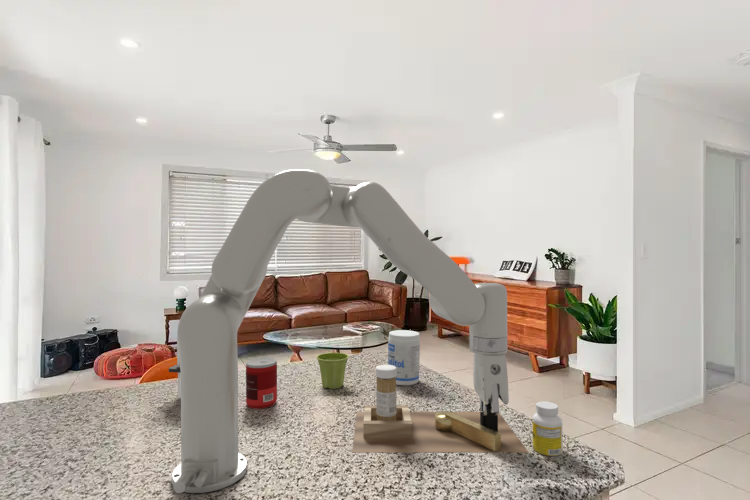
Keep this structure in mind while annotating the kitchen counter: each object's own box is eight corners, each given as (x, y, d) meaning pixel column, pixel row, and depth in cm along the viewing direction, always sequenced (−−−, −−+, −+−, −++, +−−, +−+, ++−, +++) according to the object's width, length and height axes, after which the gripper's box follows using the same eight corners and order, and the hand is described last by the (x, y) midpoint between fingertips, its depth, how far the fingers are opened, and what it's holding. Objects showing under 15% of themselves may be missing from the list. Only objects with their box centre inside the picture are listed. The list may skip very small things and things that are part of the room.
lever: (489, 453, 80) (489, 438, 80) (430, 425, 93) (430, 411, 93) (505, 446, 83) (505, 431, 83) (445, 419, 96) (445, 406, 96)
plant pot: (312, 383, 126) (312, 354, 126) (342, 379, 130) (342, 350, 130) (322, 393, 117) (322, 362, 117) (353, 388, 121) (353, 358, 121)
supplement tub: (382, 383, 125) (382, 334, 125) (395, 374, 134) (395, 328, 134) (412, 388, 121) (412, 337, 121) (424, 379, 129) (424, 331, 129)
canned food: (281, 398, 113) (280, 357, 113) (270, 410, 105) (270, 366, 105) (253, 397, 114) (253, 356, 114) (241, 408, 106) (240, 365, 106)
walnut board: (528, 457, 81) (528, 451, 81) (352, 457, 81) (352, 451, 81) (498, 415, 101) (498, 411, 101) (356, 415, 101) (356, 411, 101)
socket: (411, 438, 87) (411, 423, 87) (363, 438, 87) (363, 423, 87) (408, 418, 97) (408, 405, 97) (364, 418, 97) (364, 405, 97)
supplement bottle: (537, 445, 86) (537, 397, 86) (565, 454, 83) (566, 404, 83) (528, 455, 82) (528, 405, 82) (557, 465, 79) (557, 412, 79)
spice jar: (389, 422, 95) (389, 362, 95) (400, 430, 91) (400, 367, 91) (372, 426, 93) (371, 365, 93) (382, 434, 89) (382, 370, 89)
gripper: (519, 352, 79) (519, 450, 79) (496, 335, 94) (496, 417, 94) (479, 353, 79) (479, 450, 79) (462, 336, 94) (463, 418, 94)
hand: (489, 432), depth 87 cm, fingers closed
